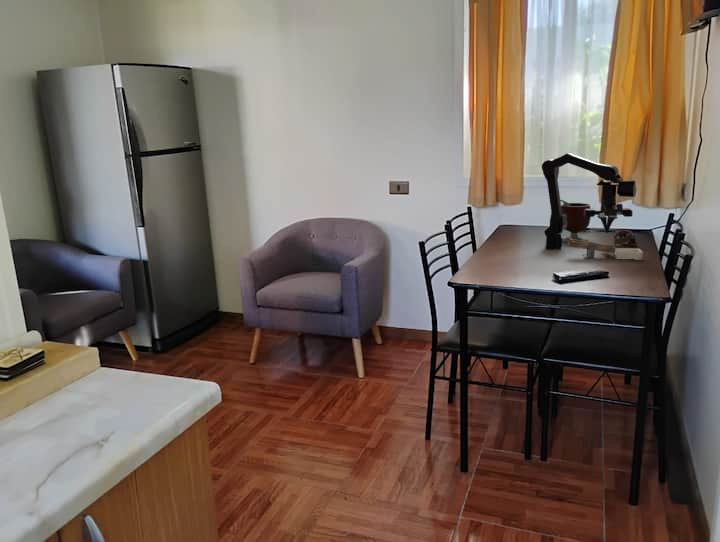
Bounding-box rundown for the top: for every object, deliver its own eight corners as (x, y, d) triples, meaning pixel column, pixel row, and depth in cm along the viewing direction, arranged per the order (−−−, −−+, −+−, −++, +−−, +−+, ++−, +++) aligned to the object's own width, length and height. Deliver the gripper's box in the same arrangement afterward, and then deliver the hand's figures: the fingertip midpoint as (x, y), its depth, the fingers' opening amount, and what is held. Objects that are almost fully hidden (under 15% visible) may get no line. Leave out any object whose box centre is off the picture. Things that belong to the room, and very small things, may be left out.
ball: (641, 252, 248) (636, 258, 249) (639, 251, 251) (634, 257, 252) (634, 248, 248) (629, 254, 249) (633, 247, 251) (628, 252, 252)
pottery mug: (641, 248, 270) (636, 233, 267) (621, 257, 272) (615, 243, 269) (632, 237, 280) (626, 222, 277) (612, 245, 283) (606, 231, 280)
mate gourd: (576, 236, 299) (578, 196, 294) (595, 241, 286) (598, 199, 281) (549, 239, 294) (551, 198, 290) (567, 244, 281) (570, 201, 277)
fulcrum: (585, 259, 250) (586, 247, 249) (582, 255, 258) (583, 243, 257) (598, 259, 249) (599, 247, 248) (594, 255, 257) (595, 243, 256)
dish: (616, 259, 248) (616, 252, 247) (612, 255, 255) (613, 248, 255) (642, 259, 246) (643, 252, 246) (638, 256, 253) (638, 248, 253)
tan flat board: (569, 246, 252) (570, 239, 251) (565, 239, 265) (566, 233, 264) (614, 253, 249) (616, 246, 248) (607, 246, 262) (609, 240, 262)
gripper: (588, 198, 250) (586, 236, 254) (636, 198, 246) (634, 236, 250) (584, 195, 261) (582, 231, 264) (630, 195, 257) (628, 231, 261)
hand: (606, 232), depth 260 cm, fingers closed
